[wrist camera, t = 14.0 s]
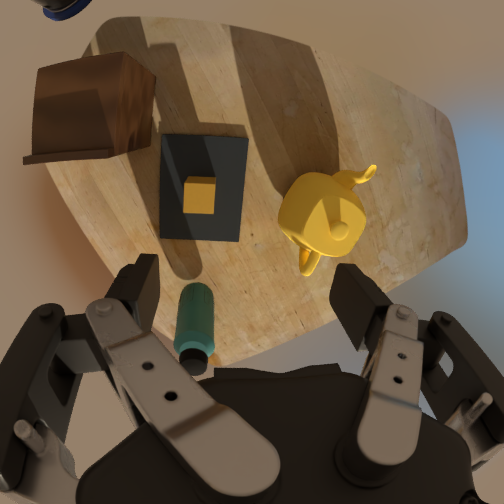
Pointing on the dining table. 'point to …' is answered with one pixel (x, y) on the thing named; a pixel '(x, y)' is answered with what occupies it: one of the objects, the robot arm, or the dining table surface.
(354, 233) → the teapot
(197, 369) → the beverage bottle
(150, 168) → the dining table surface
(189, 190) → the yellow block
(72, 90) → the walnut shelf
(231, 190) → the slate mat
